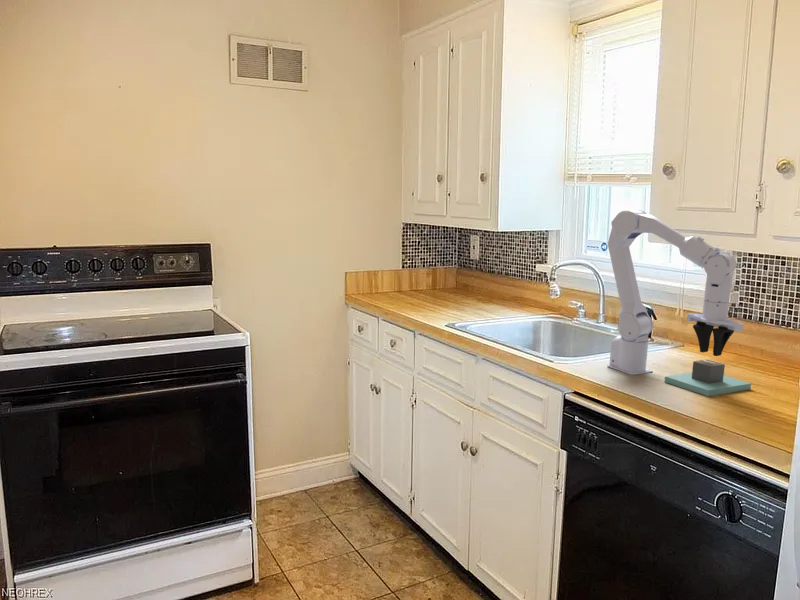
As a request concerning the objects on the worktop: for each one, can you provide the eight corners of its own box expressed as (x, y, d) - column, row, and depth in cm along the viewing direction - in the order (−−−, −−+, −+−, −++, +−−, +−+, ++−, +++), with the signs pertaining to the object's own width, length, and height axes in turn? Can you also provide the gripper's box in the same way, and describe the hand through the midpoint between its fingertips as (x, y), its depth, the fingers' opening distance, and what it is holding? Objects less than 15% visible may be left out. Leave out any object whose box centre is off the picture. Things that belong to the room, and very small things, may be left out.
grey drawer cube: (691, 378, 166) (693, 360, 165) (705, 376, 169) (707, 358, 168) (709, 383, 162) (711, 365, 161) (722, 381, 164) (724, 363, 163)
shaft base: (664, 381, 168) (666, 365, 167) (705, 375, 175) (707, 359, 174) (708, 396, 156) (710, 378, 155) (750, 389, 163) (752, 371, 163)
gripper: (681, 297, 166) (675, 348, 169) (732, 306, 154) (725, 362, 156) (699, 296, 170) (694, 346, 172) (751, 305, 157) (744, 359, 159)
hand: (710, 353), depth 164 cm, fingers open, 3 cm apart
